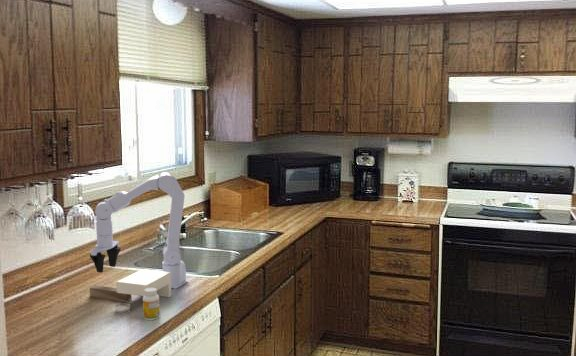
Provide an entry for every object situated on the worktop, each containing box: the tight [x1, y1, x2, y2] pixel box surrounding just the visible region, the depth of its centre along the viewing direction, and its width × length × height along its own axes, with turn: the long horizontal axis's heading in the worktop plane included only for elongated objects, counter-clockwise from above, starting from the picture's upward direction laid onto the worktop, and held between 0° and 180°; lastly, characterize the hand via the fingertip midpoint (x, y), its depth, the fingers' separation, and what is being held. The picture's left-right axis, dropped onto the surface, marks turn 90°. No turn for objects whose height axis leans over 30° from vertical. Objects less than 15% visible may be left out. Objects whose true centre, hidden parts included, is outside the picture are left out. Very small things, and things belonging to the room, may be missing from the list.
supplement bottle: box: [142, 288, 161, 321], centre depth 192 cm, size 5×5×10 cm
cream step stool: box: [116, 268, 172, 298], centre depth 208 cm, size 16×12×9 cm
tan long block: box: [89, 285, 132, 302], centre depth 212 cm, size 3×16×4 cm, turn 70°
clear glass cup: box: [114, 302, 131, 314], centre depth 199 cm, size 5×5×2 cm
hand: (106, 269), depth 219 cm, fingers open, 7 cm apart
